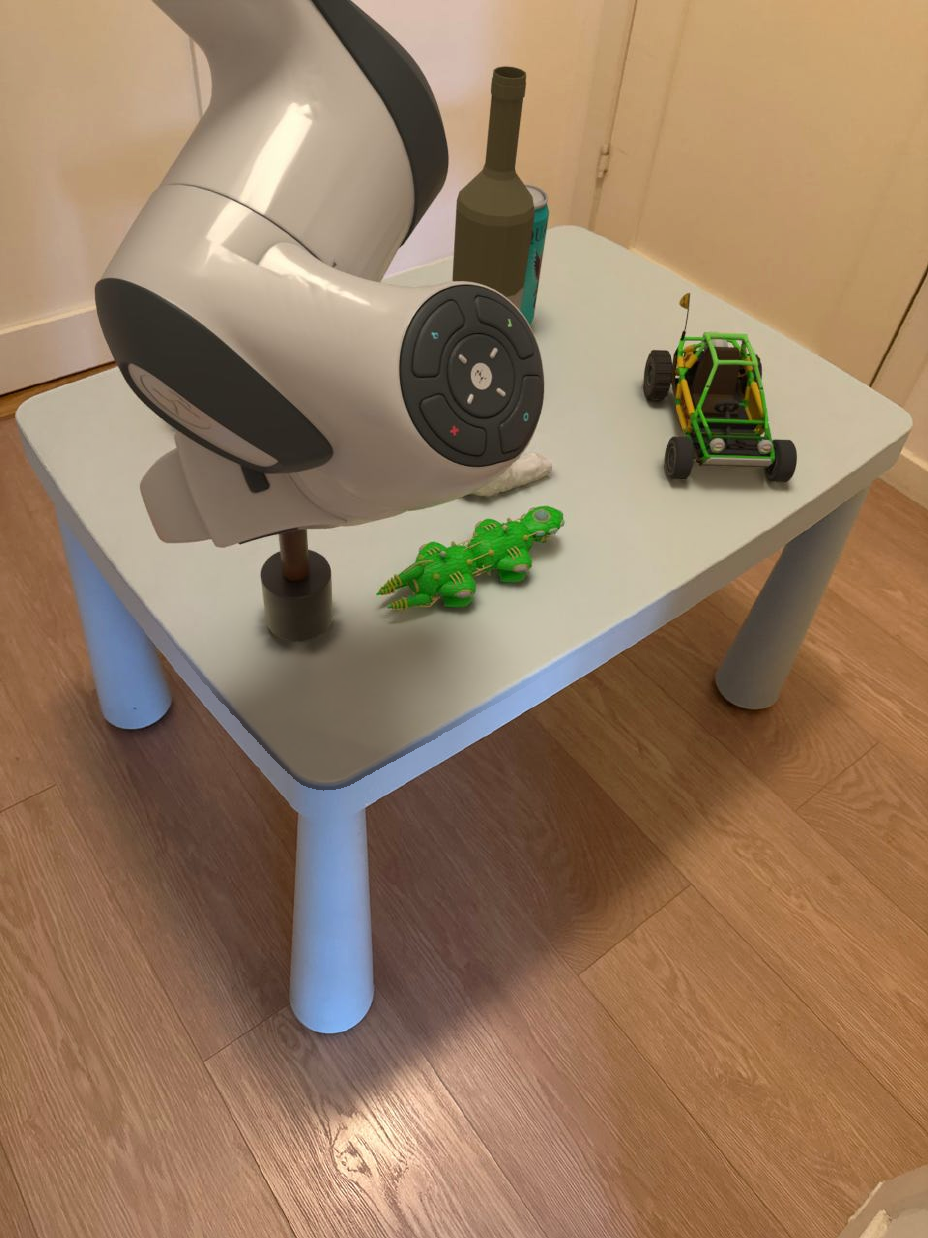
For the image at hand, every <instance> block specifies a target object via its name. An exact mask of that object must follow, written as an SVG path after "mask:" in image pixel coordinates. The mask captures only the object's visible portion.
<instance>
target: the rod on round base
mask: <svg viewBox="0 0 928 1238" xmlns="http://www.w3.org/2000/svg"><path fill="white" fill-rule="evenodd" d="M308 539H309V538H308V529H302V530H296V531H293V532H289V533H283V534H278V541H279V542H278V543H279V551H277V552H275V553H274V554H272V555H270V556H269V557H268V558H267V559H266V560H265V561H264V563H263V564H262V567H261V568H260V573H259V574H260V575H259V577H260V583H261V591H262V601H263V608H264V616H265V617H264V619H265V623H266V625H267V626H266V627H268V629H269V630H270V632H271V633H272V634H273V635H275V636H276V637H278V638H280V639H282V640H284V641H285V640H286V641H290V642H308V641H311V640H314V639H316V638H319V637H320V636H322V635H323V634H324V633H326V631H328V629H329V628H330V626H331V625H332V622H333V617H334V607H333V605H334V604H333V581H332V567H331V565H330V563H329V561H328V560H327V559H326V558H325V557H324V556H323V555H322V554H320V553H319V552H317V551H314V550H312V549H310V548H309V540H308Z"/></svg>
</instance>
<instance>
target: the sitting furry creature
mask: <svg viewBox="0 0 928 1238" xmlns="http://www.w3.org/2000/svg"><path fill="white" fill-rule="evenodd" d="M552 470H553V465H552V461H551V460H550V459H546V456H545V455H544V454H541V453H535V452H532V451H531V452H530V453H523V454H522V455H521V456H520V457H519V458H518V459H517V461H516V462H515V463H514V464H513V465H511V466H510V467H509V468H508V469H507V470H506V471H505V472H504V473H502V474H501V475H500V476H499V477H497V478H496V479H495V480H493V481H492V482H490V483H488V484H487V485H485V486H484V487H482V488H480V489H478V490H476V491H475V492H472V493H470V494H469V495H473V496H476V497H486V498H490V497H492V496H497V495H499V494H500V493H505V492H507V491H511V490H512V489H514V488H518V487H521V486H526V484H530V483H533V482H536V481H538V480H541V479H543V478H544V477H546V476H547V475H549V474H550V473H551V472H552Z"/></svg>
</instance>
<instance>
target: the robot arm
mask: <svg viewBox="0 0 928 1238" xmlns="http://www.w3.org/2000/svg"><path fill="white" fill-rule="evenodd" d="M150 1H151V2H152V3H153V4H154V5H155V6H156V7H157V8H158V9H159V10H160V11H161V12H163V13H164V14H165V15H166V16H167V18H169V19H170V20H171V21H172V22H173V23H174V24H175V25H176V26H177V27H178V28H179V29H180V30H181V31H183V32H184V33H185V34H186V35H187V36H188V37H189V38H190V39H191V40H192V41H193V42H194V43H195V44H196V45H197V47H199V48H200V50H201V51H202V52H203V54H204V56H205V58H206V61H207V65H208V68H209V71H210V80H211V89H210V90H211V91H210V99H209V103H208V106H207V108H206V109H205V111H204V113H203V114H202V116H201V118H200V119H199V120H198V123H197V124H196V125H195V127H194V129H193V131H192V132H191V133H190V135H189V137H188V138H187V140H186V141H185V143H184V145H183V147H182V149H181V150H180V151H179V153H178V154H177V156H176V158H175V160H174V161H173V163H172V164H171V166H170V167H169V169H168V171H167V172H166V174H165V175H164V177H163V179H162V181H161V182H160V183H159V185H158V187H157V188H156V189H155V190H153V192H151V193H150V195H149V197H148V198H147V200H146V202H145V204H143V206H142V209H140V212H139V213H138V215H137V216H136V217H135V220H134V221H133V223H132V224H131V225H130V228H129V229H128V231H127V232H126V234H125V235H124V237H123V239H122V241H121V242H120V244H119V245H118V248H117V249H116V251H115V253H114V254H113V255H112V258H111V259H110V261H109V263H108V264H107V266H106V268H105V269H104V271H103V274H102V276H100V279H99V280H98V281H97V282H96V283H95V285H94V302H95V309H96V316H97V319H98V322H99V326H100V328H101V331H102V335H103V338H104V340H105V341H106V344H107V346H108V349H109V351H110V353H111V356H112V357H113V359H114V362H115V364H116V366H117V367H118V369H119V372H120V374H121V376H122V378H123V379H124V381H125V382H126V384H127V385H128V387H129V388H130V389H131V391H132V392H133V393H134V394H135V396H136V397H137V398H138V399H139V400H140V401H141V402H142V403H143V404H144V405H145V406H146V407H147V408H148V409H149V410H150V411H151V412H152V413H154V414H155V415H156V416H158V417H159V418H160V419H161V420H162V421H164V422H165V423H166V424H168V425H169V426H171V428H174V429H175V430H176V432H175V433H174V435H173V438H174V444H175V448H173V449H172V450H170V451H168V452H166V453H165V454H163V455H161V456H160V457H159V458H158V459H157V460H156V461H155V462H154V463H153V464H152V465H151V466H150V467H149V469H148V470H147V471H146V472H145V473H144V475H143V477H141V480H140V483H139V492H140V495H141V498H142V502H143V504H144V507H145V510H146V512H147V515H148V517H149V520H150V522H151V526H152V527H153V529H154V532H155V534H156V536H157V537H158V539H159V540H160V541H161V542H162V543H165V544H189V543H198V542H203V541H209V540H211V541H212V543H213V545H214V547H216V548H218V549H225V548H229V547H231V546H235V545H240V546H241V545H243V544H246V543H249V542H254V541H257V540H261V539H264V538H268V537H273V536H276V535H279V534H283V533H289V532H293V531H296V530H302V529H307V530H331V529H335V528H341V527H357V526H361V525H365V524H368V523H374V522H376V521H381V520H385V519H390V518H393V517H396V516H399V515H402V514H404V513H406V512H412V511H419V510H425V509H429V508H433V507H436V506H440V505H444V504H447V503H450V502H454V501H456V500H458V499H461V498H463V497H465V496H468V495H471V494H470V493H472V492H475V491H476V490H478V489H480V488H482V487H484V486H485V485H487V484H488V483H490V482H492V481H493V480H495V479H496V478H497V477H499V476H500V475H501V474H502V473H504V472H505V471H506V470H507V469H508V468H509V467H510V466H511V465H513V464H514V463H515V462H516V461H517V459H518V458H519V457H521V456H523V454H524V452H525V451H526V449H527V448H528V446H529V445H530V443H531V441H532V439H533V437H534V435H535V432H536V429H537V427H538V424H539V420H540V418H541V415H542V411H543V406H544V397H545V372H544V365H543V359H542V354H541V349H540V347H539V343H538V341H537V338H536V336H535V333H534V332H533V329H532V326H531V324H530V325H529V324H528V322H527V320H526V319H525V317H524V316H523V314H522V313H521V312H520V311H519V309H518V308H517V307H516V306H515V305H514V304H513V303H512V302H511V301H510V300H509V299H508V298H506V297H505V296H504V295H502V294H501V293H499V292H498V291H496V290H494V289H492V288H490V287H488V286H485V285H482V284H479V283H474V282H466V281H453V282H452V281H444V282H438V283H434V284H433V283H432V284H427V285H420V286H419V285H418V286H407V285H406V286H405V285H396V284H390V283H384V282H382V280H383V278H384V277H385V275H386V273H387V271H388V269H389V267H390V265H391V264H392V262H393V260H394V258H395V257H396V255H397V253H398V251H399V250H400V249H401V247H403V246H404V245H405V244H406V242H407V241H408V239H409V238H410V236H411V235H412V233H413V232H414V230H416V228H417V226H418V225H419V223H420V222H421V220H422V219H423V217H424V216H425V214H426V213H427V211H428V210H429V209H430V207H431V206H432V204H433V203H434V202H435V200H436V198H437V197H438V196H439V194H440V193H441V191H442V189H443V188H444V186H445V183H446V180H447V177H448V173H449V165H450V164H449V163H450V161H449V159H450V154H449V147H448V141H447V135H446V130H445V126H444V122H443V118H442V115H441V111H440V108H439V105H438V103H437V99H436V97H435V94H434V92H433V89H432V86H431V85H430V83H429V81H428V79H427V76H426V75H425V74H424V71H423V70H422V69H421V67H420V66H419V64H418V63H417V62H416V60H415V59H414V57H413V56H412V55H411V54H410V53H409V52H408V51H407V50H406V48H405V47H404V46H403V45H402V44H401V43H400V42H399V41H398V40H397V39H396V38H395V37H394V36H393V35H392V34H391V33H390V32H389V31H388V30H386V29H385V28H384V27H383V26H381V24H380V23H378V22H377V21H376V20H375V19H374V18H373V17H371V15H369V14H368V13H367V12H365V11H364V10H363V9H362V8H361V7H360V6H359V5H357V4H356V3H355V2H354V1H353V0H150Z"/></svg>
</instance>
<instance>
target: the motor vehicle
mask: <svg viewBox="0 0 928 1238" xmlns="http://www.w3.org/2000/svg"><path fill="white" fill-rule="evenodd" d="M690 302H691V292H687V293H685V294H684V295H683V296H682V297H681V298H680V299H679V301H678V305H679V306H680V307H681V308H683V309H685V310H687V312H686V318H685V324H684V325H685V326H684V329H683V331H681V332H682V333H681V336H680V338H679V342H678V345H677V347H676V349H675V351H674V353H673V354H672V355H673V356H672V355H671V353H670V351H668V350H664V349H651V351H650V352H649V353H648V356H647V357H646V361H645V365H644V370H643V389H644V390H643V391H644V394H645V396H646V398H647V400H658V401H659V400H664V399H665V398H666V397H667V396H668V394H669V392H670V389H672V394H673V399H674V403H675V410H676V413H677V414H676V415H677V416H678V421H679V423H680V426H681V430H682V432H683V433H684V434H685V436H679V435H677V436H676V435H673V436H671V437H670V439H668V442H667V444H666V447H665V452H664V470H665V475H666V476H667V478H668V479H669V480H684V481H686V480H687V479H688V478H689V477H690V476H691V474H692V472H693V468H694V465H695V464H694V463H696V464H697V465H698V466H699V467H719V468H720V467H721V468H722V467H723V468H724V467H725V468H754V469H755V468H756V469H759V468H760V469H763V473H764V476H765V478H766V479H767V481H768V482H770V483H788V482H789V481H790V480H791V479H792V478H793V476H794V474H795V472H796V468H797V464H798V463H797V462H798V452H797V448H796V445H795V443H794V442H793V441H792V440H791V439H776V438H775V439H773V437H772V433H771V428H770V423H769V415H768V407H767V403H766V397H765V391H764V386H763V382H762V380H763V367H762V366H763V365H762V362H761V358H760V356H759V354H756V352H755V350H754V348H753V346H752V343H751V342H750V339H749V335H748V333H731V332H729V333H728V332H727V333H726V332H719V331H718V330H710V331H709V332H707V331H704V332H703V334H702V336H686V334H687V331H686V330H687V324H688V321H689V313H690V304H691V303H690ZM686 341H687V342H688V341H690V342H691V341H692V342H696V341H697V342H699V341H700V342H699V343H693V344H690V345H687V346H685V342H686ZM737 341H741V344H740V345H739V342H737ZM728 343H730V344H732V346H729V344H728ZM763 435H764V436H763Z"/></svg>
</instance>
